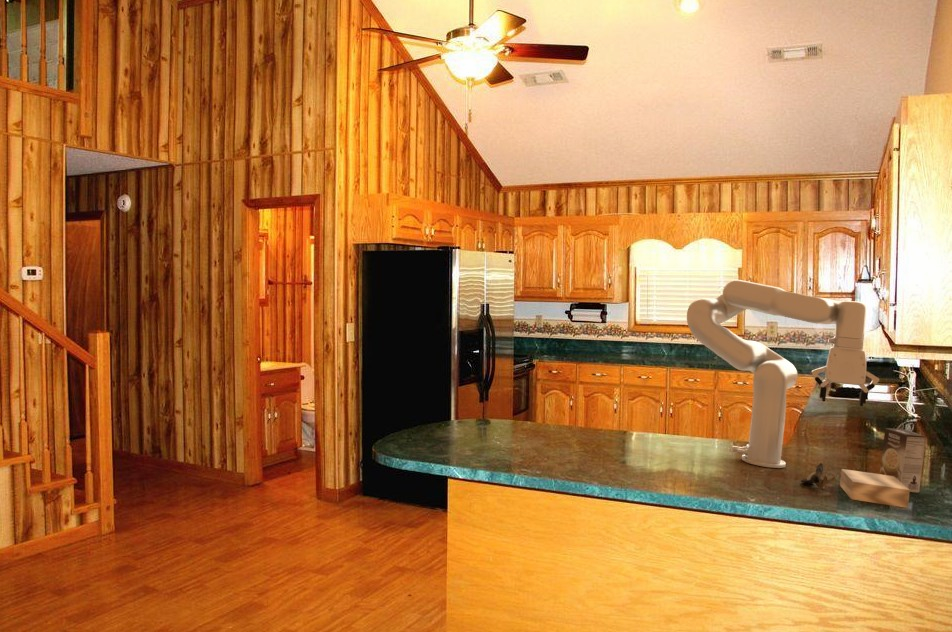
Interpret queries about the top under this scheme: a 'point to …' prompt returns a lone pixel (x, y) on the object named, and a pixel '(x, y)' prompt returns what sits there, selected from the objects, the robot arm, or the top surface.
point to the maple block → (874, 488)
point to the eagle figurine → (817, 478)
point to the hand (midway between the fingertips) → (841, 403)
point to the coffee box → (903, 457)
